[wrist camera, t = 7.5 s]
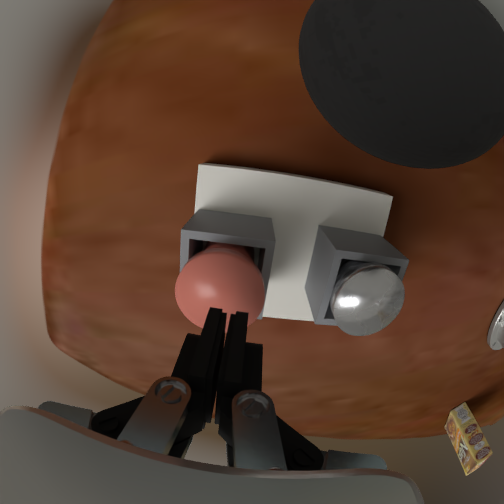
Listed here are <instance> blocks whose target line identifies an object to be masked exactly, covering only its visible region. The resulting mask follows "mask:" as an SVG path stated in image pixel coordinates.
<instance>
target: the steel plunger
mask: <svg viewBox="0 0 504 504" xmlns="http://www.w3.org/2000/svg"><path fill="white" fill-rule="evenodd" d="M404 295H405V294H404V286H403V283H402V282H401V280H400V279H399V277H398V276H397V275H396V274H395V273H394V272H393V271H392V270H391V269H390V268H389V267H387V266H386V265H384V264H381V263H374V262H365V261H358V260H350V259H343V258H342V259H341V263H340V267H339V270H338V274H337V277H336V281H335V284H334V288H333V291H332V294H331V298H330V307H331V311H332V313H333V316H334V319H335V321H336V323H337V325H338V327H339V328H340V329H341V330H343V331H344V332H346V333H348V334H350V335H355V336H364V335H369V334H373V333H375V332H378V331H380V330H381V329H383V328H385V327H386V326H387V325H389V324H390V323H391V322H392V321H393V320H394V319H395V317H396V316H397V315H398V313H399V311H400V310H401V307H402V305H403V301H404Z"/></svg>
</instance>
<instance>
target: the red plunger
mask: <svg viewBox="0 0 504 504" xmlns="http://www.w3.org/2000/svg"><path fill="white" fill-rule="evenodd" d="M175 296H176V301H177V303H178V306H179V308H180V310H181V311H182V313H183V314H184V315H185V316H186V317H187V318H188V319H189V320H190V321H191V322H192V323H194V324H195V325H197V326H199V327H201V328H203V326H204V323H205V320H206V317H207V314H208V311H209V308H210V307H213V308H220V309H223V312H224V313H227V319H226V329H225V333H227V330H228V325H229V320H230V315H231V314H236V311H240V312H248V313H249V315H248V324H247V326H249V325H250V324H252V323H253V322H254V321H255V320H256V319H257V318H258V316H259V315H260V313H261V311H262V309H263V306H264V301H265V291H264V281H263V277H262V274H261V272H260V270H259V269H258V267H257V266H256V265H255V263H254V247H251V246H243V245H235V244H227V243H219V242H212V241H208V242H207V244H206V246H205V248H204V250H203V251H201V252H199V253H197V254H195V255H194V256H192V257H191V258H190V259H189V260H188V261H187V263H186V264H185V265H184V267H183V269H182V271H181V272H180V274H179V276H178V278H177V281H176V285H175Z"/></svg>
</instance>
